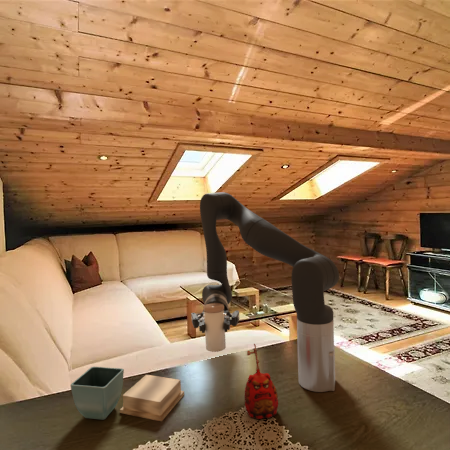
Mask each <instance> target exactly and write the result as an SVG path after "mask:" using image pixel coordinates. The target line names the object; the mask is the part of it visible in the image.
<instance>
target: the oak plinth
mask: <svg viewBox="0 0 450 450" xmlns="http://www.w3.org/2000/svg"><path fill="white" fill-rule="evenodd" d="M181 382H182V381H181V379H177V378H171V377H163V376H158V375H150V374H145V375H144V376H143V377H142V378H141V379H139V380H138V381H137V382H136V383H135V384H134V385H132V386H131V388H129V389H128V390H127V391H125V393H123V394H122V407H121V408H119V413H120V414H125V415H127V416H128V415H129V416H133V417H137V418H143V419H147V420H153V421H158V422H163V421H164V419H165V418H166V417H167V416H168V415H169V413H170V412H171V411H172V410H173V409H174V407H175V406H176V405H177V404H178V403H179V401H180V400H181V399H182V398H183V397H184V395H185V391H184V390H182V385H181Z"/></svg>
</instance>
